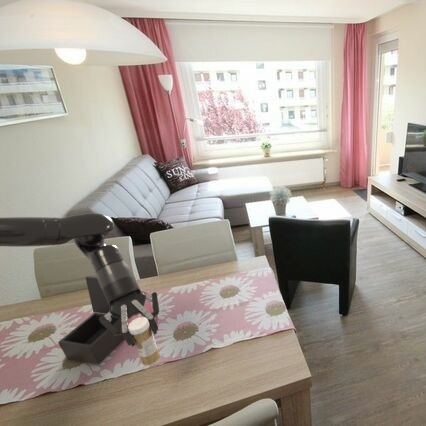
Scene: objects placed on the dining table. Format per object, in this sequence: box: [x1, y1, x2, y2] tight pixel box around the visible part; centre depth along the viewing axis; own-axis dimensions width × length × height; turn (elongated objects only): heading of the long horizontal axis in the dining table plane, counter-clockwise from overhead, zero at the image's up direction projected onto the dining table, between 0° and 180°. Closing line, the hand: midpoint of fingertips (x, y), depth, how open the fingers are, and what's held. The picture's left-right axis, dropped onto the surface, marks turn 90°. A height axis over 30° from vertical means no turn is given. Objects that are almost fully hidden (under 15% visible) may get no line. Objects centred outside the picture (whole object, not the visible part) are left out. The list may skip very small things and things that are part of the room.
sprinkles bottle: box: [127, 316, 161, 366], centre depth 78 cm, size 5×5×13 cm
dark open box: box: [57, 312, 129, 365], centre depth 105 cm, size 14×13×8 cm
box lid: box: [85, 275, 110, 314], centre depth 107 cm, size 14×13×1 cm
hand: (145, 339), depth 76 cm, fingers closed on sprinkles bottle, 4 cm apart
